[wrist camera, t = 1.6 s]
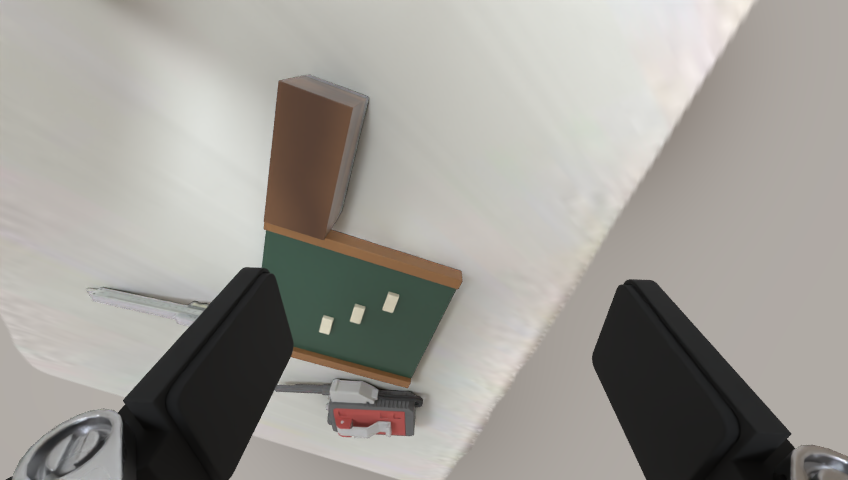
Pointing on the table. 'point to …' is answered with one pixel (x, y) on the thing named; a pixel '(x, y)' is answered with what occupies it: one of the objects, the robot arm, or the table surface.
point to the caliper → (149, 305)
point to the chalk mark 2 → (357, 313)
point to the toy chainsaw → (364, 408)
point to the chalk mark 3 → (390, 302)
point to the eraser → (312, 153)
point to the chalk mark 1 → (326, 324)
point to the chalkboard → (358, 301)
